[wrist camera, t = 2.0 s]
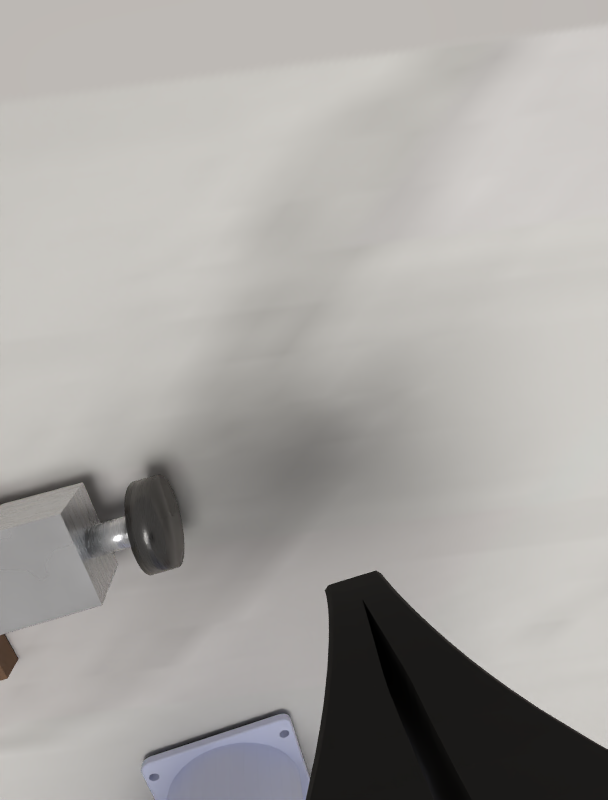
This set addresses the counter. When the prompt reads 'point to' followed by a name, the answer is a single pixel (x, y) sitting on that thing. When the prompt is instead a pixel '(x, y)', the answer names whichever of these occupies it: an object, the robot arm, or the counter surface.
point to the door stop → (79, 549)
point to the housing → (6, 658)
